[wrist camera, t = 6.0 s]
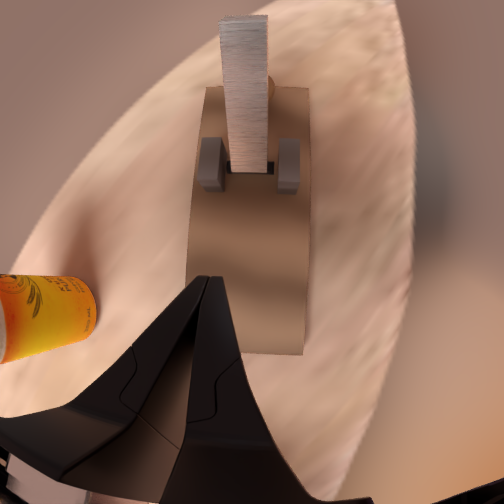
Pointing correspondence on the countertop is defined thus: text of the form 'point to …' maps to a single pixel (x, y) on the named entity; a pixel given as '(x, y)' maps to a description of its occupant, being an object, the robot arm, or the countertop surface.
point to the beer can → (42, 314)
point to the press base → (256, 223)
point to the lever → (246, 92)
